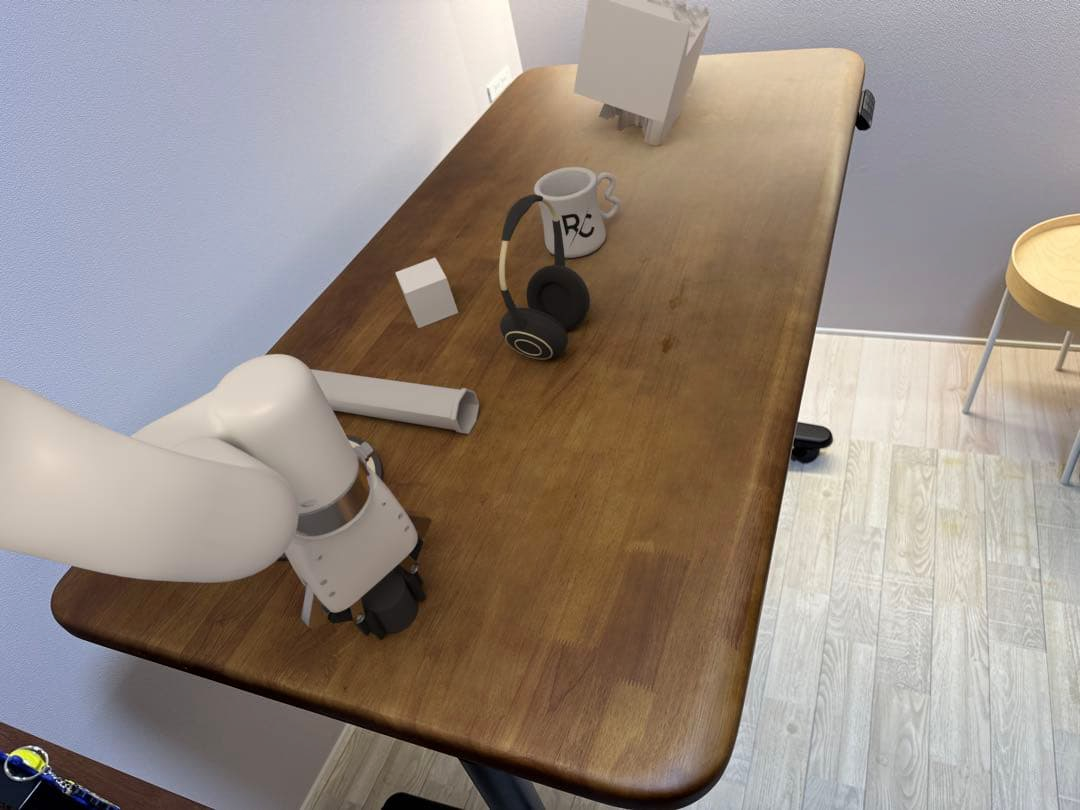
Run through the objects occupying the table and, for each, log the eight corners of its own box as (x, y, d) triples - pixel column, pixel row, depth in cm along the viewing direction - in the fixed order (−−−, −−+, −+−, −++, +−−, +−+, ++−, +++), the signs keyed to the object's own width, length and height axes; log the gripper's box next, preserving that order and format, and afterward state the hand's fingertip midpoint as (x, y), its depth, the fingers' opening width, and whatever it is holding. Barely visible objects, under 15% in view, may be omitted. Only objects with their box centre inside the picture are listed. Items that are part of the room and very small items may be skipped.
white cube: (458, 312, 109) (446, 277, 105) (418, 328, 108) (404, 293, 104) (447, 291, 113) (435, 257, 109) (408, 306, 112) (394, 272, 108)
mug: (562, 268, 112) (549, 207, 105) (536, 241, 118) (522, 182, 111) (637, 236, 114) (629, 173, 107) (608, 211, 120) (599, 151, 113)
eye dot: (392, 642, 73) (377, 620, 70) (365, 616, 76) (350, 594, 73) (427, 609, 75) (414, 586, 72) (399, 585, 77) (386, 562, 75)
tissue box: (604, 88, 147) (632, -54, 127) (684, 115, 144) (725, -26, 124) (564, 142, 134) (588, -6, 115) (651, 172, 132) (690, 26, 112)
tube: (278, 395, 97) (450, 422, 87) (295, 358, 99) (466, 380, 89) (302, 414, 101) (469, 442, 91) (318, 378, 103) (483, 401, 93)
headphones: (497, 373, 98) (454, 237, 84) (546, 302, 106) (515, 168, 93) (558, 384, 94) (524, 244, 80) (604, 309, 103) (580, 171, 89)
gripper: (376, 410, 68) (435, 534, 81) (210, 538, 61) (303, 652, 74) (428, 446, 64) (483, 571, 76) (256, 588, 57) (347, 701, 69)
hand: (394, 610), depth 75 cm, fingers closed on eye dot, 4 cm apart
